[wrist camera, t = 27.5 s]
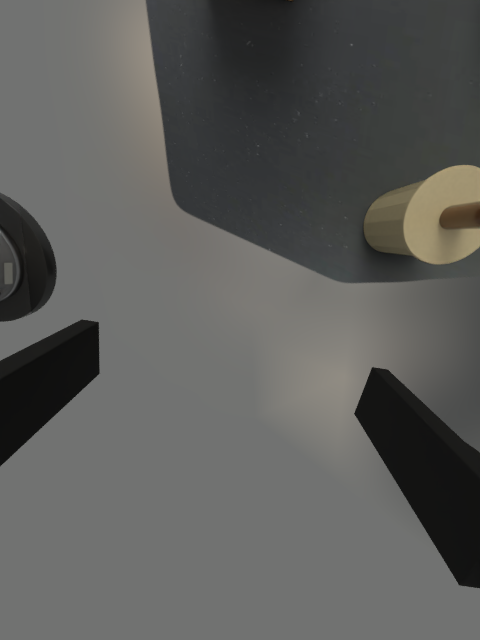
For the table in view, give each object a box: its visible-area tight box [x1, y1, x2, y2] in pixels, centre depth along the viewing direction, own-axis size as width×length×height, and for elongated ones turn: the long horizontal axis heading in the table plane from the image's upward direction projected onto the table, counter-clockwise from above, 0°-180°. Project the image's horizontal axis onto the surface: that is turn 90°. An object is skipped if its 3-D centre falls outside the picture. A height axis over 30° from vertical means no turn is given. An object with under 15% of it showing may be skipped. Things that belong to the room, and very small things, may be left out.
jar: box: [364, 180, 425, 256], centre depth 34 cm, size 9×9×11 cm
